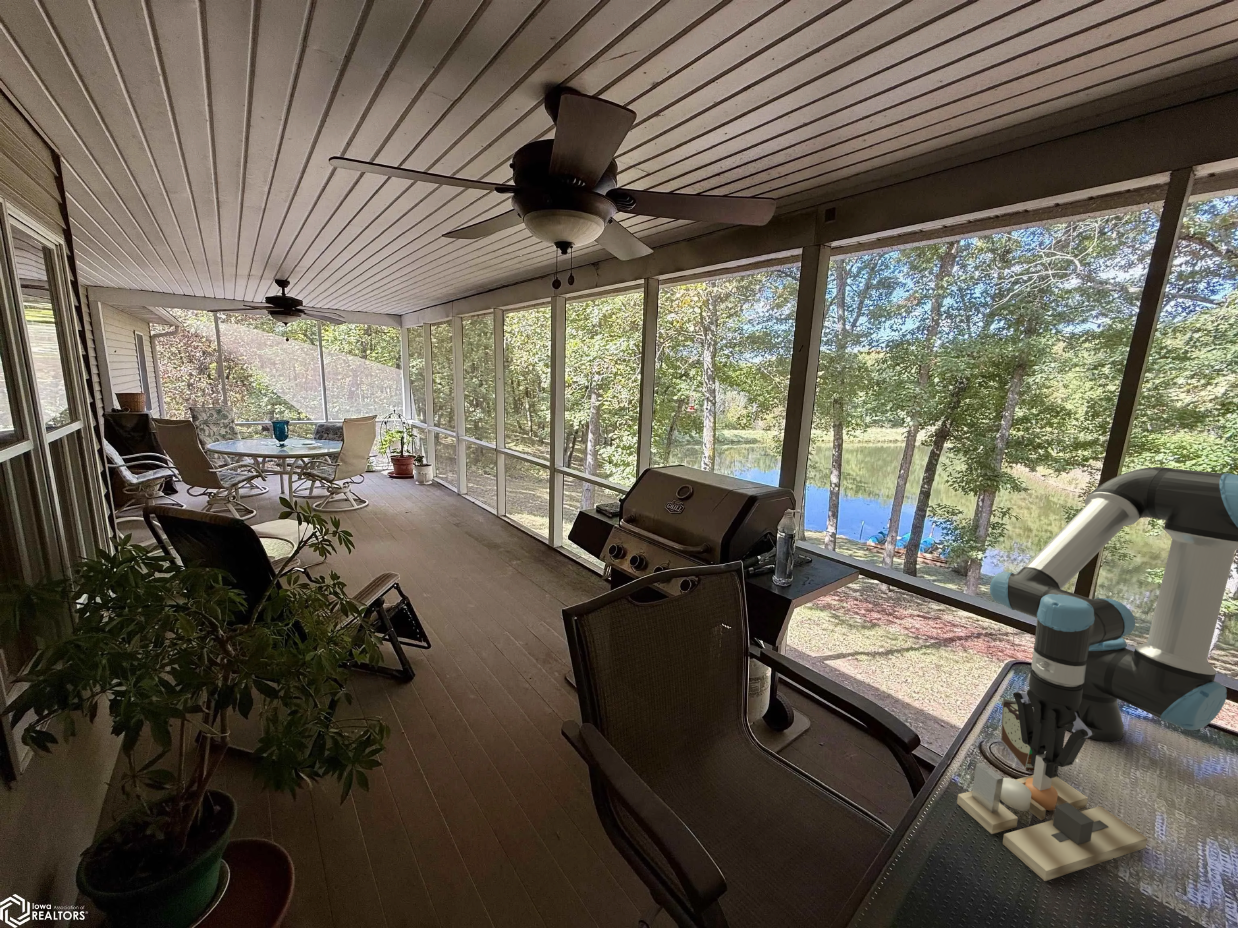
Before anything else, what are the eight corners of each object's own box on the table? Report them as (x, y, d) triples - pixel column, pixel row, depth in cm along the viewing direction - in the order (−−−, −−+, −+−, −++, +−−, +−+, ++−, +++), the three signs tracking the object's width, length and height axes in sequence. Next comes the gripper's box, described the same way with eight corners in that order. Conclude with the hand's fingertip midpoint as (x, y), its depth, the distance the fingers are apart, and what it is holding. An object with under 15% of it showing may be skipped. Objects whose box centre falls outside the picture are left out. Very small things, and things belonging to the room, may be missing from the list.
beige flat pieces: (1047, 779, 102) (1048, 770, 101) (1145, 847, 86) (1147, 837, 86) (957, 803, 96) (958, 793, 96) (1044, 880, 80) (1046, 870, 80)
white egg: (1010, 788, 97) (1012, 775, 96) (1036, 807, 92) (1038, 794, 92) (991, 792, 96) (993, 780, 95) (1017, 813, 91) (1018, 799, 91)
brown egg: (1036, 787, 99) (1037, 775, 98) (1062, 807, 94) (1064, 794, 94) (1018, 792, 98) (1019, 780, 97) (1043, 812, 93) (1045, 799, 93)
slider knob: (1064, 821, 89) (1067, 802, 89) (1090, 840, 85) (1093, 820, 85) (1052, 825, 88) (1055, 805, 88) (1078, 844, 85) (1081, 824, 84)
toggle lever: (977, 794, 96) (982, 762, 95) (997, 811, 92) (1003, 778, 91) (971, 795, 95) (976, 763, 94) (991, 812, 91) (996, 779, 90)
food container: (1063, 779, 102) (1069, 736, 100) (1029, 775, 103) (1035, 732, 101) (1026, 739, 114) (1031, 700, 112) (997, 735, 115) (1001, 697, 113)
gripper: (1006, 660, 97) (994, 765, 101) (1081, 700, 85) (1064, 818, 88) (1034, 655, 99) (1021, 758, 102) (1112, 693, 87) (1094, 809, 90)
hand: (1041, 786), depth 95 cm, fingers closed
